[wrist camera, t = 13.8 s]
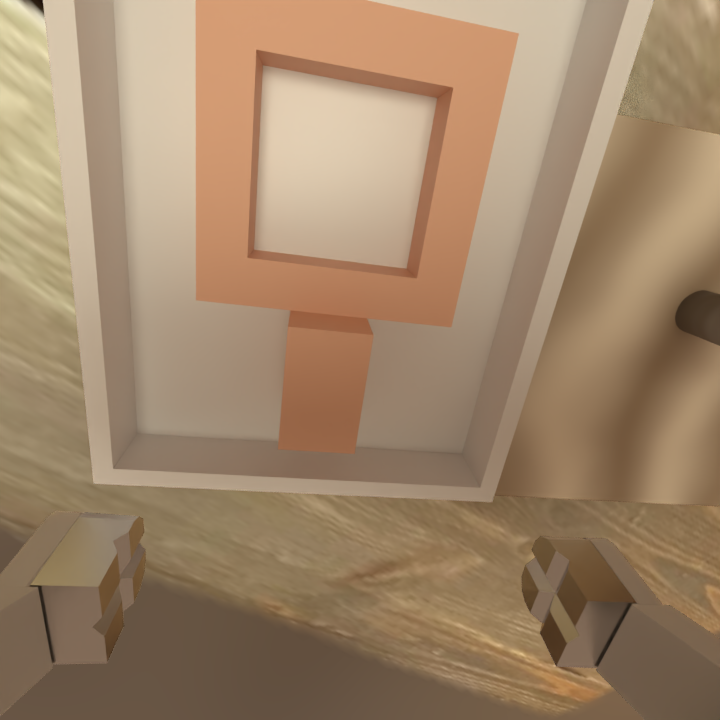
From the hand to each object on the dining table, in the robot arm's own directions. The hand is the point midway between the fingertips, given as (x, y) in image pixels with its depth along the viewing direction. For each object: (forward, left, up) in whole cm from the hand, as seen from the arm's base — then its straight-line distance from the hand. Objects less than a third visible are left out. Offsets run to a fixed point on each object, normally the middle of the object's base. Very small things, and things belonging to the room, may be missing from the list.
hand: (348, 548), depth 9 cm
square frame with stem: (0, -5, -11) cm, 12 cm away
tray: (0, -5, -12) cm, 13 cm away
